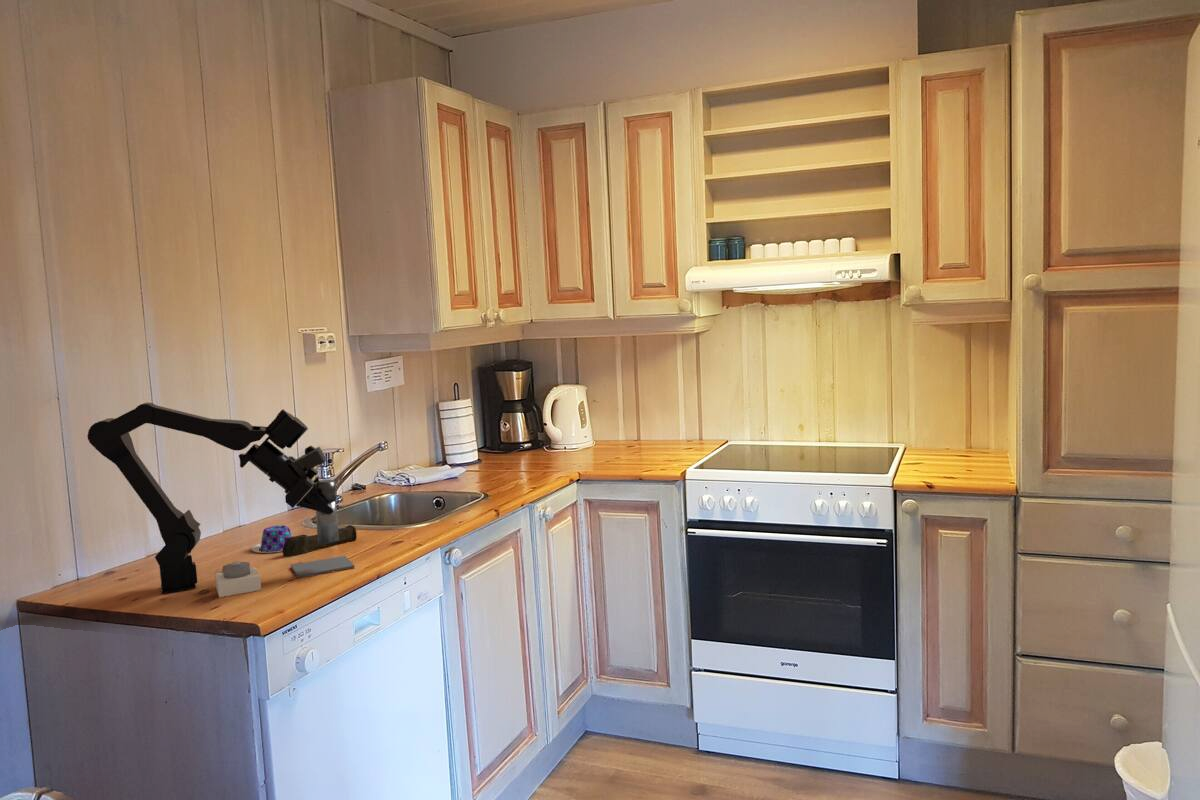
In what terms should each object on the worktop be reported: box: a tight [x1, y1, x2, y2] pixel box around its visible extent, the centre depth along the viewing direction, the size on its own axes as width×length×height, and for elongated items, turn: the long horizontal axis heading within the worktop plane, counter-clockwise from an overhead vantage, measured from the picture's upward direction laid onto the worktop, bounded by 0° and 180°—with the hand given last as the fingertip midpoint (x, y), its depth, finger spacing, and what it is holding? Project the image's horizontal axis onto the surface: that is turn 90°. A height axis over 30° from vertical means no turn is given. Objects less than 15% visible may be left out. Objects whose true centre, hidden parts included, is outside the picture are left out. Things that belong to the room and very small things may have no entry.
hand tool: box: [282, 524, 357, 557], centre depth 217 cm, size 19×4×5 cm, turn 136°
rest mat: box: [290, 555, 355, 579], centre depth 199 cm, size 12×10×1 cm
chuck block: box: [214, 561, 262, 598], centre depth 186 cm, size 8×8×6 cm
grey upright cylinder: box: [313, 479, 339, 543], centre depth 196 cm, size 5×5×13 cm
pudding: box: [251, 524, 293, 554], centre depth 219 cm, size 12×12×5 cm
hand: (332, 510), depth 196 cm, fingers closed on grey upright cylinder, 4 cm apart
